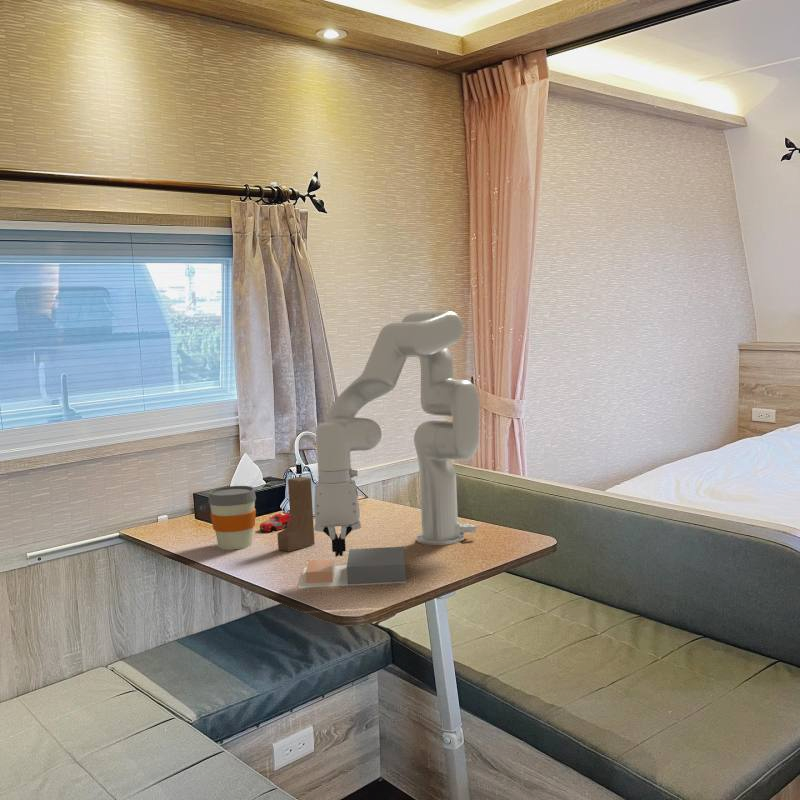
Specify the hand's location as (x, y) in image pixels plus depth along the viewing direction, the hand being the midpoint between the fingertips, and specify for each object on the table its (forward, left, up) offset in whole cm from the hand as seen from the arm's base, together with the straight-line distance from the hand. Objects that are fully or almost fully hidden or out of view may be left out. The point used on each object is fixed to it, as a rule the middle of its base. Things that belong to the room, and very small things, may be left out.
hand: (339, 554), depth 189 cm
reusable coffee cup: (+30, -32, -6) cm, 44 cm away
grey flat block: (-9, 0, -5) cm, 10 cm away
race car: (+20, -49, -6) cm, 53 cm away
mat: (-3, 0, -5) cm, 6 cm away
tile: (+4, 0, -4) cm, 6 cm away
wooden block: (+13, -27, -6) cm, 30 cm away
